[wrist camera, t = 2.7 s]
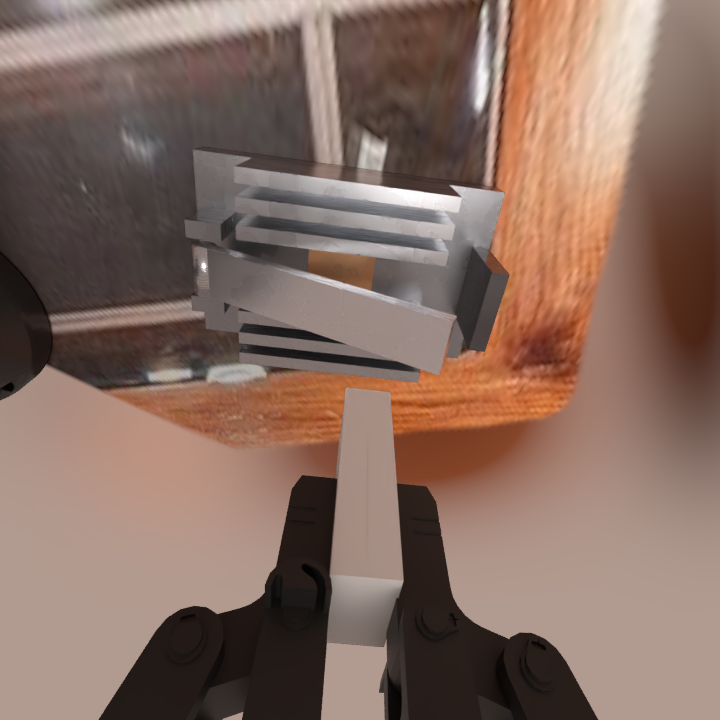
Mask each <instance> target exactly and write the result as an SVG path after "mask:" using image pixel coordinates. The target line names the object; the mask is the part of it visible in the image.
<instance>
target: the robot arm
mask: <svg viewBox="0 0 720 720" xmlns="http://www.w3.org/2000/svg"><path fill="white" fill-rule="evenodd" d="M50 351H51V332H50V327H49V323H48V319H47V316H46V314H45V311H44V309H43V307H42V305H41V303H40V301H39V299H38V297H37V296H36V294H35V292H34V291H33V289H32V288H31V287H30V285H29V284H28V282H27V281H26V280H25V279H24V277H23V276H22V275H21V274H20V273H19V272H18V271H17V269H16V268H15V267H14V266H13V265H12V264H11V263H10V262H9V261H8V260H6V259H5V258H4V257H3V256H2V255H1V254H0V400H2V399H4V398H7V397H9V396H10V395H12V394H14V393H16V392H17V391H19V390H20V389H21V388H22V387H23V386H25V385H26V384H27V383H29V382H30V381H31V380H32V379H33V378H35V377H36V376H37V375H38V374H39V373H40V372H41V371H42V369H43V368H44V367H45V365H46V363H47V361H48V358H49V355H50ZM386 638H387V663H386V667H385V669H384V673H383V675H382V679H381V683H380V689H379V692H380V693H384V704H385V705H384V706H385V720H598V719H597V717H596V715H595V713H594V711H593V710H592V708H591V706H590V704H589V702H588V701H587V699H586V697H585V695H584V693H583V691H582V690H581V688H580V686H579V684H578V682H577V681H576V679H575V677H574V675H573V673H572V671H571V670H570V668H569V666H568V664H567V662H566V661H565V660H564V659H563V657H562V656H561V654H560V653H559V652H558V650H557V649H556V648H555V647H554V646H553V645H552V644H550V643H549V642H548V641H547V640H546V639H544V638H542V637H540V636H537V635H535V634H532V633H518V634H516V635H514V636H512V637H510V639H507V638H505V637H503V636H501V635H498V634H496V633H494V632H491V631H489V630H487V629H485V628H482V627H480V626H479V625H477V624H475V623H474V622H472V621H471V620H470V619H469V618H468V617H466V616H465V615H464V614H463V612H462V611H461V610H460V609H459V607H458V606H457V604H456V602H455V600H454V598H453V596H452V592H451V588H450V582H449V577H448V571H447V565H446V559H445V553H444V547H443V541H442V537H441V529H440V523H439V517H438V511H437V505H436V501H435V500H434V498H433V496H432V495H431V493H430V492H429V490H428V488H427V487H426V486H416V485H405V484H397V481H396V467H395V454H394V441H393V425H392V411H391V397H390V392H385V391H375V390H366V389H357V388H348V387H346V391H345V399H344V407H343V415H342V423H341V431H340V439H339V448H338V459H337V469H336V479H334V478H324V477H314V476H304V475H302V476H301V478H300V479H299V480H298V482H297V483H296V484H295V486H294V487H293V488H292V491H291V496H290V501H289V506H288V511H287V516H286V522H285V526H284V531H283V535H282V540H281V545H280V551H279V555H278V561H277V565H276V568H275V569H274V570H273V571H272V572H271V573H270V575H269V577H268V579H267V581H266V584H265V593H264V594H263V595H262V597H260V599H258V600H256V601H255V602H253V603H252V604H250V605H248V606H245V607H242V608H239V609H235V610H232V611H228V612H224V613H220V614H216V613H215V612H213V611H212V610H210V609H208V608H207V607H199V606H192V607H188V608H184V609H181V610H179V611H177V612H176V613H174V614H173V615H171V616H169V617H168V618H167V619H166V620H165V621H164V622H163V623H162V624H161V626H160V627H159V628H158V629H157V630H156V632H155V633H154V635H153V636H152V638H151V640H150V641H149V643H148V644H147V646H146V647H145V649H144V650H143V652H142V653H141V655H140V656H139V658H138V660H137V661H136V663H135V664H134V666H133V667H132V669H131V671H130V672H129V673H128V675H127V677H126V678H125V680H124V681H123V683H122V684H121V686H120V687H119V689H118V691H117V692H116V694H115V695H114V697H113V698H112V700H111V701H110V703H109V704H108V706H107V707H106V709H105V710H104V712H103V714H102V715H101V717H100V718H99V720H222V719H223V718H226V717H229V716H232V715H235V714H238V713H241V712H243V717H242V720H321V710H322V697H323V684H324V671H325V658H326V644H327V643H340V644H351V645H363V646H375V647H384V645H385V641H386Z"/></svg>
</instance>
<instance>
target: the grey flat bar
mask: <svg viewBox="0 0 720 720" xmlns="http://www.w3.org/2000/svg"><path fill="white" fill-rule="evenodd" d="M191 251H192V263H193V275H194V287H195V294H196V295H197V296H199V297H203V298H213V299H216V300H219V301H222V302H224V303H227V304H230V305H233V306H236V307H239V308H242V309H245V310H248V311H251V312H254V313H257V314H260V315H263V316H266V317H268V318H271V319H274V320H277V321H280V322H283V323H286V324H289V325H292V326H295V327H298V328H301V329H304V330H307V331H310V332H312V333H315V334H318V335H321V336H324V337H327V338H330V339H333V340H336V341H339V342H342V343H345V344H348V345H351V346H354V347H356V348H359V349H362V350H365V351H368V352H371V353H374V354H377V355H380V356H383V357H386V358H389V359H392V360H395V361H398V362H400V363H403V364H406V365H409V366H412V367H415V368H418V369H421V370H424V371H427V372H430V373H433V374H436V375H439V374H440V372H441V371H442V369H443V366H444V362H445V359H446V355H447V351H448V348H449V344H450V340H451V336H452V333H453V329H454V325H455V322H456V318H457V316H455V315H452V314H448V313H445V312H441V311H438V310H435V309H431V308H428V307H424V306H421V305H417V304H414V303H411V302H407V301H404V300H400V299H397V298H394V297H390V296H387V295H383V294H380V293H376V292H373V291H370V290H366V289H363V288H359V287H356V286H353V285H349V284H346V283H342V282H339V281H335V280H332V279H329V278H325V277H322V276H318V275H315V274H312V273H308V272H305V271H301V270H298V269H294V268H291V267H288V266H284V265H281V264H277V263H274V262H271V261H267V260H264V259H260V258H257V257H253V256H250V255H247V254H243V253H240V252H236V251H233V250H230V249H226V248H223V247H219V246H217V245H216V244H215V243H213V242H208V241H197V242H193V243H191Z"/></svg>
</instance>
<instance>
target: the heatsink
mask: <svg viewBox="0 0 720 720" xmlns="http://www.w3.org/2000/svg"><path fill="white" fill-rule="evenodd" d="M193 160H194V174H195V187H196V201H197V212H196V213H194V214H193V215H191V216H189V217H188V218H186V219H185V220H184V222H185V233H186V238H194V239H199V241H208V242H213V243H215V244H216V245H217V246H219V247H223V248H226V249H230V250H233V251H236V252H240V253H243V254H247V255H250V256H253V257H257V258H260V259H264V260H267V261H271V262H274V263H277V264H281V265H284V266H288V267H291V268H294V269H298V270H301V271H305V272H308V273H312V274H315V275H318V276H322V277H325V278H329V279H332V280H335V281H339V282H342V283H346V284H349V285H353V286H356V287H359V288H363V289H366V290H370V291H373V292H376V293H380V294H383V295H387V296H390V297H394V298H397V299H400V300H404V301H407V302H411V303H414V304H417V305H421V306H424V307H428V308H431V309H435V310H438V311H441V312H445V313H448V314H452V315H455V316H457V318H456V322H455V325H454V329H453V333H452V336H451V340H450V344H449V348H448V351H447V355H446V357H452V358H458V355H459V352H460V348H461V345H462V341H463V338H464V339H465V342H466V344H467V346H468V349H469V350H475V351H484V352H485V349H486V346H487V343H488V340H489V337H490V334H491V331H492V328H493V325H494V321H495V318H496V315H497V312H498V309H499V306H500V303H501V300H502V297H503V294H504V291H505V287H506V284H507V281H508V278H509V273H508V272H507V271H506V270H505V269H504V267H503V266H502V265H501V264H500V263H499V261H498V260H497V259H496V258H495V257H494V255H493V254H492V253H491V252H490V251H489V247H490V244H491V240H492V237H493V233H494V230H495V227H496V223H497V220H498V216H499V213H500V209H501V206H502V202H503V199H504V195H505V192H503V191H502V190H500V189H499V188H497V187H491V186H484V185H477V184H470V183H462V182H455V181H448V180H441V179H433V178H426V177H419V176H412V175H405V174H397V173H390V172H383V171H376V170H368V169H361V168H354V167H347V166H340V165H332V164H325V163H318V162H311V161H303V160H296V159H289V158H282V157H275V156H267V155H260V154H253V153H246V152H238V151H231V150H224V149H217V148H210V147H201V148H197V149H193ZM191 299H192V310H194V311H203V312H205V323H206V329H211V330H219V331H228V332H237V333H239V343H243V346H242V348H241V350H240V352H239V359H240V363H247V364H256V365H265V366H274V367H282V368H291V369H300V370H309V371H318V372H327V373H336V374H345V375H354V376H363V377H371V378H380V379H389V380H398V381H407V382H416V383H418V380H419V376H420V369H418V368H415V367H412V366H409V365H406V364H403V363H400V362H398V361H395V360H392V359H389V358H386V357H383V356H380V355H377V354H374V353H371V352H368V351H365V350H362V349H359V348H356V347H354V346H351V345H348V344H345V343H342V342H339V341H336V340H333V339H330V338H327V337H324V336H321V335H318V334H315V333H312V332H310V331H307V330H304V329H301V328H298V327H295V326H292V325H289V324H286V323H283V322H280V321H277V320H274V319H271V318H268V317H266V316H263V315H260V314H257V313H254V312H251V311H248V310H245V309H242V308H239V307H236V306H233V305H230V304H227V303H224V302H222V301H219V300H216V299H213V298H203V297H199V296H197V295H196V294H195V292H194V293H193V294H192V295H191Z"/></svg>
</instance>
